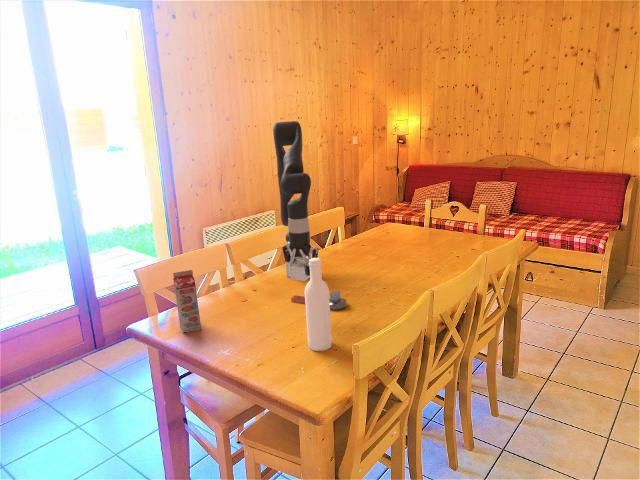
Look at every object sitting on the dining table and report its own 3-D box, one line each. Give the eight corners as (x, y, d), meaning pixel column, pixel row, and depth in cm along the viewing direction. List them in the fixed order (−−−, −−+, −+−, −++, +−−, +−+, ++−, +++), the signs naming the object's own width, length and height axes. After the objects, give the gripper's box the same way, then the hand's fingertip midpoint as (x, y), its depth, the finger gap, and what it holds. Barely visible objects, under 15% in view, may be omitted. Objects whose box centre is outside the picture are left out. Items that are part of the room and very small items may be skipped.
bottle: (331, 339, 165) (327, 254, 157) (332, 350, 157) (328, 262, 149) (307, 340, 165) (302, 256, 157) (308, 352, 157) (302, 264, 149)
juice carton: (180, 326, 181) (172, 270, 175) (198, 322, 184) (190, 267, 178) (182, 333, 175) (174, 275, 169) (201, 329, 178) (193, 272, 172)
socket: (291, 279, 178) (290, 263, 176) (298, 274, 182) (297, 258, 181) (305, 280, 175) (304, 265, 174) (312, 275, 180) (311, 260, 178)
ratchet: (288, 304, 196) (287, 290, 194) (298, 296, 203) (297, 283, 201) (341, 312, 186) (340, 297, 184) (349, 303, 193) (349, 289, 191)
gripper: (276, 230, 174) (279, 275, 178) (312, 233, 167) (315, 279, 172) (286, 225, 180) (289, 268, 185) (321, 228, 174) (324, 272, 179)
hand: (301, 273), depth 178 cm, fingers closed on socket, 5 cm apart
